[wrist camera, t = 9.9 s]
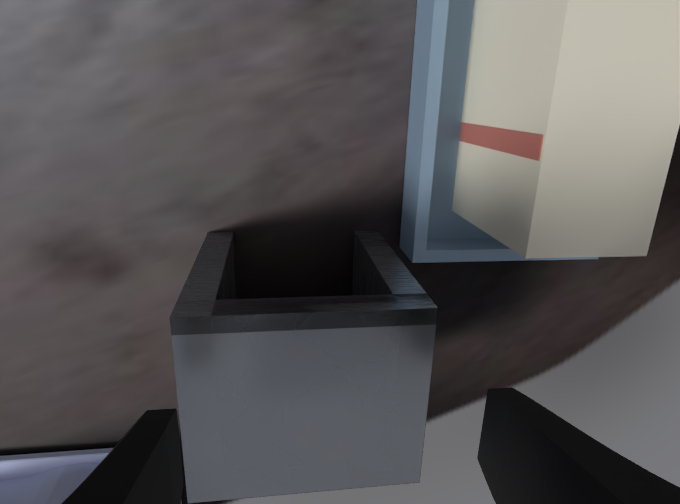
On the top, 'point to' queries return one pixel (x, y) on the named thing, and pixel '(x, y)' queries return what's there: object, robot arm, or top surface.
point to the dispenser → (301, 379)
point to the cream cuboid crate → (569, 124)
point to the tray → (441, 143)
